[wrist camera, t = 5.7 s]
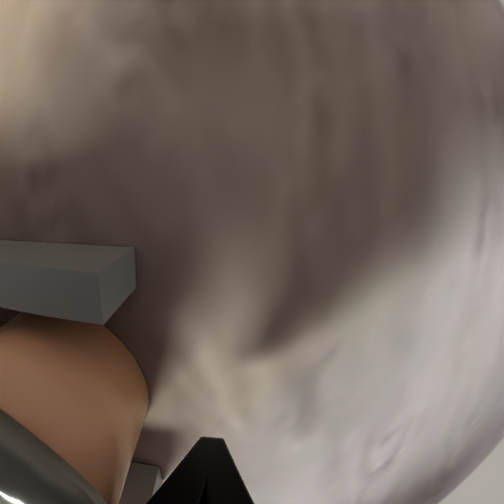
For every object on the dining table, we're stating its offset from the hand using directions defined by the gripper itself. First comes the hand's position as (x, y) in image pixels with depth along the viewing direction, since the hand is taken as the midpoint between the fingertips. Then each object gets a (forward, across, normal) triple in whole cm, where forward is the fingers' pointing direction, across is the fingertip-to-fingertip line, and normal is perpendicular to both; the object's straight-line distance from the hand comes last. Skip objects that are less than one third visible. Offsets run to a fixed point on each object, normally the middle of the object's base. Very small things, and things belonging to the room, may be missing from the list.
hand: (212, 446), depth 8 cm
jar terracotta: (+2, +5, 0) cm, 6 cm away
